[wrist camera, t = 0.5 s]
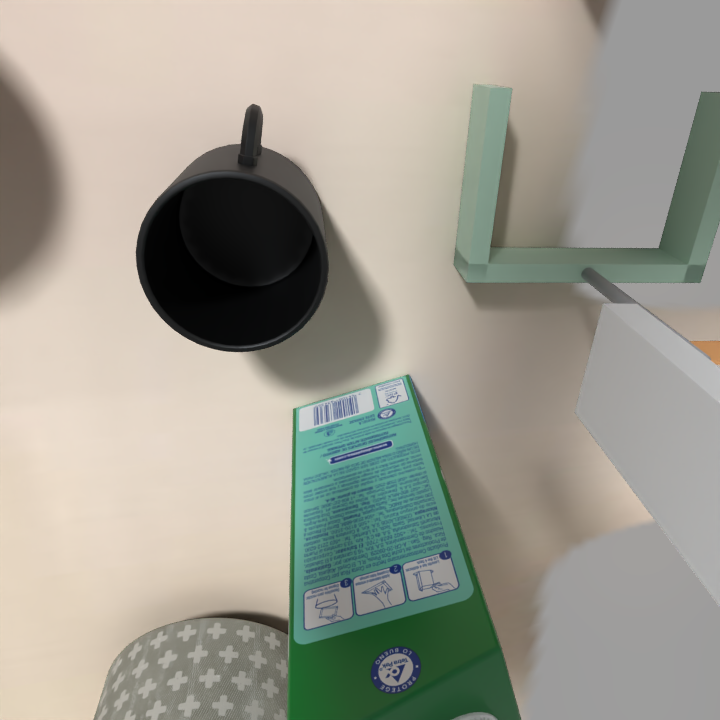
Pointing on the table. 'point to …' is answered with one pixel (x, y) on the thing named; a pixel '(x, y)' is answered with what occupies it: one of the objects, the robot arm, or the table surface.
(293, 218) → the mug
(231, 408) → the table surface
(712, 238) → the long-handled green u-channel
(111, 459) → the table surface
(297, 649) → the milk carton
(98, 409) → the table surface
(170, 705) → the planter
